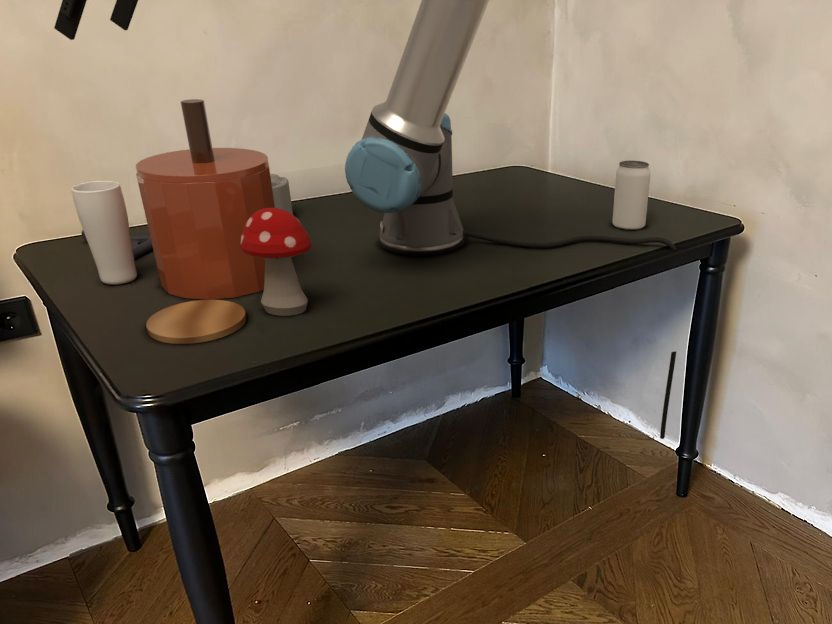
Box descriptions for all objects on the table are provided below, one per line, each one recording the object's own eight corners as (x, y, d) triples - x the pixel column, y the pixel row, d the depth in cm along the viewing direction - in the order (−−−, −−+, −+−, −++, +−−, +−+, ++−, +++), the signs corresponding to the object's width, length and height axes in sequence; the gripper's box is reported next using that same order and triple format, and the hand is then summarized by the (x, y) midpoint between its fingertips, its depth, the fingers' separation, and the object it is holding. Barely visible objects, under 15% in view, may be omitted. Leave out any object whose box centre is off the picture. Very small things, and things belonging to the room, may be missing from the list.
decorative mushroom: (239, 317, 109) (220, 214, 101) (269, 295, 116) (254, 197, 109) (303, 324, 107) (289, 220, 99) (329, 301, 114) (318, 202, 107)
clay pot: (282, 253, 132) (259, 89, 119) (286, 292, 117) (259, 109, 104) (168, 263, 128) (131, 93, 115) (156, 305, 112) (111, 114, 99)
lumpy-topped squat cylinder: (218, 221, 148) (209, 177, 144) (274, 207, 157) (268, 165, 153) (248, 232, 142) (241, 186, 138) (305, 217, 151) (300, 173, 147)
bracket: (111, 229, 143) (107, 214, 142) (183, 234, 141) (180, 219, 140) (58, 254, 131) (53, 239, 130) (136, 260, 129) (132, 245, 127)
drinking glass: (96, 290, 117) (70, 193, 109) (95, 276, 122) (70, 183, 115) (144, 283, 119) (121, 188, 112) (141, 269, 125) (119, 178, 117)
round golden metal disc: (246, 301, 114) (245, 295, 113) (245, 338, 103) (244, 331, 102) (153, 310, 110) (151, 304, 110) (142, 349, 99) (140, 342, 99)
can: (630, 232, 145) (636, 169, 139) (605, 224, 149) (609, 163, 143) (652, 226, 148) (658, 164, 143) (627, 218, 153) (632, 158, 147)
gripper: (161, -118, 117) (118, 7, 127) (54, -130, 96) (13, 21, 106) (204, -85, 118) (158, 35, 129) (108, -90, 97) (62, 55, 107)
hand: (92, 29), depth 117 cm, fingers open, 13 cm apart
